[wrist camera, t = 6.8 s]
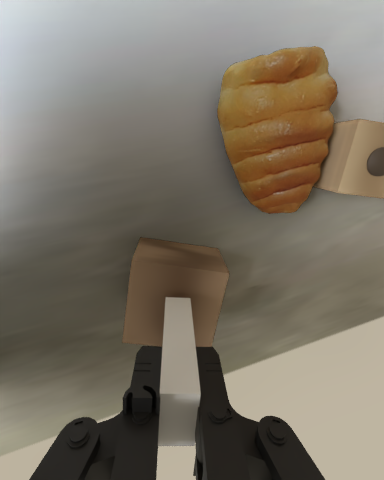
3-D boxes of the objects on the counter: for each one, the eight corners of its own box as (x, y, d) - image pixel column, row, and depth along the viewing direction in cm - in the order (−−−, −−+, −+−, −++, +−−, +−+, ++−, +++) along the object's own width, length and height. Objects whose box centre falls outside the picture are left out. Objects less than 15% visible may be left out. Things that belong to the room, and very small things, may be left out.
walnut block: (132, 304, 21) (122, 342, 17) (140, 236, 19) (131, 260, 15) (203, 312, 22) (210, 351, 18) (217, 247, 20) (229, 273, 16)
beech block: (304, 184, 19) (338, 192, 15) (319, 125, 18) (360, 118, 14) (354, 190, 19) (399, 200, 16) (372, 134, 18) (427, 129, 14)
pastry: (316, 199, 19) (352, 211, 16) (228, 218, 19) (243, 234, 15) (314, 51, 16) (358, 22, 12) (207, 71, 16) (220, 49, 12)
